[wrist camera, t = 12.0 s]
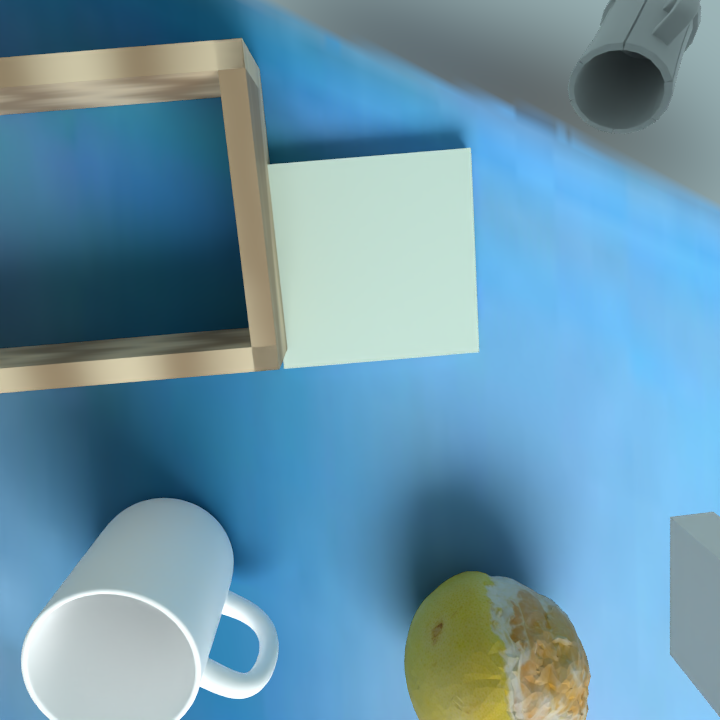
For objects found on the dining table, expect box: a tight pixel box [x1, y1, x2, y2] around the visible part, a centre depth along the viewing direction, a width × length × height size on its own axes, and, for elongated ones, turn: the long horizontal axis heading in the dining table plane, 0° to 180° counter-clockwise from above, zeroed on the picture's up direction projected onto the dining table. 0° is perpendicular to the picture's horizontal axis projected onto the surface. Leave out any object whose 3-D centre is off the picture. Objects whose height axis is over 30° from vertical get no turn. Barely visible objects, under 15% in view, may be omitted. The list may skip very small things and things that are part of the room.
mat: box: [268, 148, 479, 369], centre depth 35 cm, size 11×11×1 cm
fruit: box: [404, 571, 591, 720], centre depth 36 cm, size 10×11×10 cm
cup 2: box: [568, 0, 701, 134], centre depth 58 cm, size 10×9×12 cm
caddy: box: [0, 38, 287, 393], centre depth 32 cm, size 22×15×6 cm
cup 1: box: [21, 498, 278, 720], centre depth 35 cm, size 8×12×10 cm
